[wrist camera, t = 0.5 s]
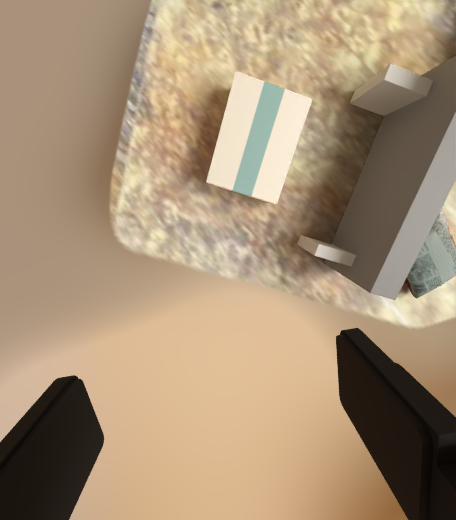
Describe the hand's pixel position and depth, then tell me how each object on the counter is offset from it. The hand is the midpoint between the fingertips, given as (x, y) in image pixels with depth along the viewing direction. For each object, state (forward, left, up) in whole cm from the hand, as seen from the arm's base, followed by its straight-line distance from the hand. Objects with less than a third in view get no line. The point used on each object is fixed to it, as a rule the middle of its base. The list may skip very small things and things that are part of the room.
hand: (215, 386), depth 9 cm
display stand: (-13, +15, -28) cm, 35 cm away
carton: (-13, +1, -29) cm, 32 cm away
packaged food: (-7, +30, -29) cm, 42 cm away
